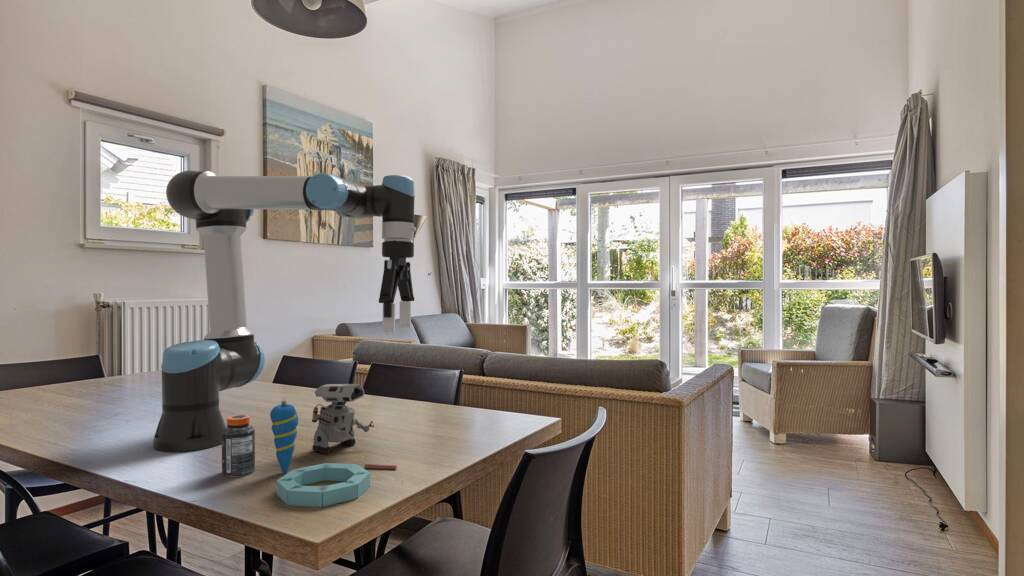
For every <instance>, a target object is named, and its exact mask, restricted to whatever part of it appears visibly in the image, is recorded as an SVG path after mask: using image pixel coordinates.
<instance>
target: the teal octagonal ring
mask: <svg viewBox="0 0 1024 576" xmlns="http://www.w3.org/2000/svg"><path fill="white" fill-rule="evenodd" d="M325 481H334V482H337V483H333V484H330V485H324V486H318V485H317V486H316V485H315V486H313V485H311V484H315V483H319V482H325ZM370 487H371V472H370V471H369V470H367V469H366V468H365V467H364V468H363V467H362V466H361V465H359V464H357V463H356V464H355V463H336V462H335V463H331V462H324V463H320V464H315V465H309V466H305V467H300V468H294V469H291V470H290V471H289V472H287V473H285V474H283V476H281V477H280V478H278V479H277V480H276V496H277V497H279V498H280V499H281V501H283V502H284V503H285V504H286V505H287V506H296V507H297V506H300V507H314V508H317V507H319V508H323V507H328V506H332V505H336V504H337V505H338V504H340V503H344V502H349V501H352V500H357V499H358V498H360V497H361V496H362V494H364V493H365V492H366V491H367V490H368V489H369V488H370Z"/></svg>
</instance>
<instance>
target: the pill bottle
mask: <svg viewBox="0 0 1024 576" xmlns="http://www.w3.org/2000/svg"><path fill="white" fill-rule="evenodd" d="M255 433H256V431H255V428H254V426H253V425H250V415H249V414H235V415H230V416H228V417H227V418H226V428H225V429H224V430H223V431H222V443H221V474H222V476H223V477H226V478H238V477H239V478H240V477H246V476H248V475H251V474H252V473H254V472H255V471H256V470H255V469H256V441H255V440H256V438H255V435H256V434H255Z"/></svg>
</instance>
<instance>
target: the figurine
mask: <svg viewBox="0 0 1024 576" xmlns="http://www.w3.org/2000/svg"><path fill="white" fill-rule="evenodd" d="M314 394H315V396H316V397H317V398H318V397H319V398H320V397H321V398H322V399H323V400H324V401H325V402H326V403H327V402H328V403H330V404H328V405H323V404H320V403H319V404H317V405H316V406H315V407H313V409H312V410H313V411H312V419H311V422H312V423H317V421H318V425H317V429H316V431H315V433H314V435H313V445H312V447H311V448H312V451H314V453H321V454H324V455H325V454H329V452H331V450H330V446H329V443H336V444H337V443H340V445H347V446H350V447H352V446H355V444H356V438H355V431H354V426H356V428H357V429H361V430H362V431H363V432H364V433H368V432H369V431H370V428H375V426H374V421H373V420H371V422H370V423H369V424H368V425H365V424H363V423H362V422H360V421H359V420H358V418H355V411H356V409H355V408H353V407H350V406H349V405H347V402H348V403H349V402H350V403H352V402H354V401H357V400H359V399H362V398H364V397H365V389H364V388H363V387H362V385H361V384H360V383H329V384H328V383H326V384H323V385H321V386H319V387H318V388H316V390H315V391H314ZM318 406H320V410H319V407H318ZM318 413H319V414H318Z"/></svg>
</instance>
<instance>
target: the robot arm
mask: <svg viewBox="0 0 1024 576" xmlns="http://www.w3.org/2000/svg"><path fill="white" fill-rule="evenodd" d="M168 181H169V182H168V183H167V185H166V191H165V196H166V198H167V199H166V200H167V202H168V204H169V206H170V207H171V208H172V209H173V211H174V212H175V213H177V215H180V216H182V217H184V218H188V219H191V220H194V221H195V230H196V232H197V233H199V234H200V235H201V236H202V238H203V249H204V262H205V263H204V266H205V278H206V292H207V293H206V294H207V307H208V321H209V322H208V323H209V331H208V332H207V333H206V334H205V336H204V337H203V339H200V340H192V341H185V342H179V343H176V344H173V345H169V346H168V347H167V348H165V350H164V351H163V353H162V360H161V366H160V367H161V368H160V370H161V405H162V406H161V407H162V409H161V416H160V418H159V421H158V423H157V427H156V429H155V430H156V431H155V434H154V435H153V439H152V440H153V443H152V444H153V446H152V448H153V449H154V450H156V451H158V452H167V453H169V452H170V453H171V452H172V453H177V452H178V453H179V452H180V453H181V452H188V451H189V452H192V451H198V450H203V449H208V448H212V447H216V446H219V445H222V431H223V430H224V429H225V428H226V427H227V425H226V423H225V421H224V418H223V415H222V412H221V409H220V392H221V391H225V390H230V389H233V388H240V387H243V386H245V385H247V384H249V383H250V384H251V383H252V382H254V381H255V380H256V379H257V378H258V377H259V376H261V374H262V371H263V370H264V367H265V361H266V360H265V359H266V358H265V352H264V350H263V348H262V346H260V345H259V343H258V342H256V341H255V333H254V331H252V330H250V329H249V328H248V326H247V325H248V323H247V311H246V309H247V308H246V297H245V295H246V294H245V281H244V267H243V266H244V265H243V264H244V263H243V254H242V253H243V252H242V251H243V250H242V238H241V237H242V235H243V234H244V233H245V232H246V231H247V223H248V222H249V221H250V219H251V217H252V216H253V214H254V210H279V211H280V210H281V211H282V210H283V211H284V210H287V211H288V210H290V211H292V210H295V211H300V210H301V211H303V210H306V211H310V210H311V211H331V212H335V213H336V215H338V216H339V217H342V218H352V219H353V218H361V217H362V218H367V217H371V218H372V217H379V218H380V217H382V219H381V220H382V222H381V239H382V240H384V241H382V243H381V256H382V257H383V258H389V259H384V262H383V264H384V265H383V273H382V280H381V286H380V292H379V298H378V303H379V304H382V333H395V332H396V303H394V302H395V297H396V294H397V290H398V293H399V296H400V301H399V319H398V320H399V322H398V323H399V325H398V326H399V328H411V326H412V323H411V322H412V302H415V296H414V289H413V283H412V274H411V272H412V271H411V262H409V261H407V260H406V259H409V258H410V259H411V258H414V256H415V244H414V242H412V241H413V240H414V239H415V238H414V237H415V236H414V234H415V233H414V232H416V231H417V228H416V226H415V197H416V196H415V195H416V194H415V182H414V180H413V178H411V177H410V176H408V175H403V174H401V175H400V174H390V175H385V176H383V178H382V182H381V184H378V185H362V184H358V183H355V182H353V181H350V180H347V179H345V178H342V177H340V176H338V175H335V174H333V173H326V172H325V173H324V172H320V173H317V174H314V175H313V176H312V175H309V176H308V175H307V176H306V175H297V176H296V175H280V176H279V175H261V176H260V175H217V174H216V173H214V172H212V171H200V170H199V171H197V170H184V171H181V172H178V173H176V174H175V175H174V176H172V178H171V179H170V180H168Z"/></svg>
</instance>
